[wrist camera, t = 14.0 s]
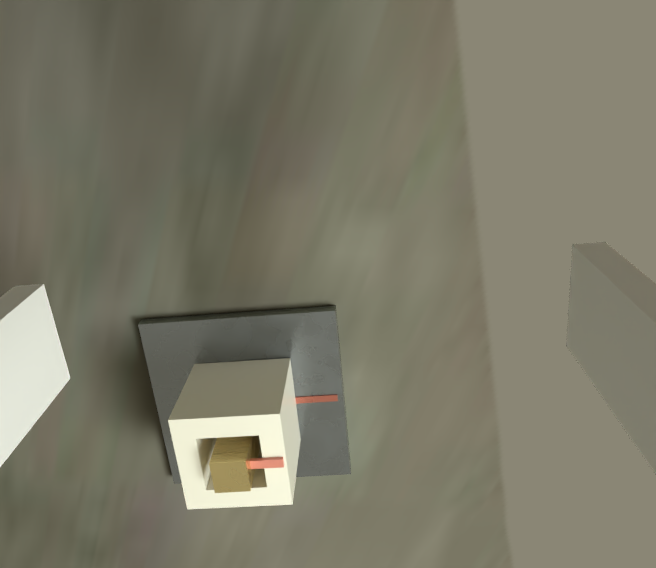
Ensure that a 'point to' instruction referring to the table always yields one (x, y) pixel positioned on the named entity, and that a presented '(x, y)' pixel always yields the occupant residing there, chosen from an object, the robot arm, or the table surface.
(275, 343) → the base plate
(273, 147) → the table surface
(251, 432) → the cream open box
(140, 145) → the table surface
